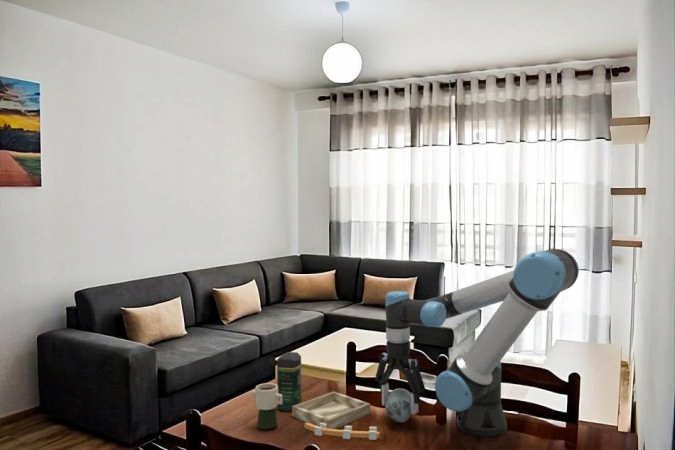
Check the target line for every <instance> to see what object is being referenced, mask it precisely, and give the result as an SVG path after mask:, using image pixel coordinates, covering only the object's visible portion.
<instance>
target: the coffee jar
mask: <svg viewBox="0 0 675 450" xmlns="http://www.w3.org/2000/svg"><path fill="white" fill-rule="evenodd" d="M276 370H277V371H276V372H277V374H276V375H277V383H276V385H278V394H282V400H283V402H282V404H278V406H277V407H276V408H277V409H278V410H281V411H284V412H290V411H291V412H292V406H294V405H297V404H300V403H303V401H302V355H301V354H299V353H298V352H295V351H287V352H286V353H283V354H281V355H280V356H279V357H278V358H277V360H276Z"/></svg>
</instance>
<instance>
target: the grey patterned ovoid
mask: <svg viewBox="0 0 675 450" xmlns="http://www.w3.org/2000/svg"><path fill="white" fill-rule="evenodd" d="M411 393H412V392H410V391H409V390H407V389H405V388H402V387H401V388H400V387H399V388H395V389H393V390H392V391H390V392H389V396H388V398H387V401H386V405H384V407H385V413H386V414H387V416H389V418H391V419H392V420H393V421H395V422H398V423H405V422H407V421H408V420H409V418H410V417H411V415H412V414H411Z"/></svg>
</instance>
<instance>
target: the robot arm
mask: <svg viewBox="0 0 675 450" xmlns="http://www.w3.org/2000/svg"><path fill="white" fill-rule="evenodd" d="M579 269H580V268H579V264H578V261H577V260H576V259H575V257H574V256H573V255H572V254H571V253H569V252H567V251H566V250H563V249H559V248H550V249H545V250H537V251H534V252H533V251H532V252H531V253H528V254H527V255H525V256H523V257H521V259H520V260H519V261H518V262H517V263H516V265H515V268H514V270H511V271H509V272H506V273H503V274H500V275H497V276H493V277H491V278H488V279H485V280H483V281H479V282H476V283H474V284H471V285H468V286H465V287H462V288H460V289H456V290H454V291H451V292H448V293H445V294H442V295H440V296H439V295H438V296H436V297H432V298H428V299H424V300H421V299H412V298H410V294H409V292H408V291H403V290H394V291H389V292H387V293H386V295H385V305H384V307H385V322H386V323H385V330H386V331H385V334H386V336H385V340H387V341H386V352H382V353H380V354H379V363H378V365H377V371H376V373H375V376H374V381H375V382H378V383H379V387H380V388H379V390H380V391H379V392H380V394H381V405H382V406H384V407H385V406H386V401H387V398H388V396H389V394H390V388H389V387H390V386H389V384H390V383H388V382H389V379H390V377H391V376H392V374H393V372H394V370H398V371H401V373H402V374H403V375H404V377H405V379H406V381H407V384H408V385H409V387H410V390H411V391H412V392H410V393H411V414H410V415H415V414H417V413H419V403H420V401H421V393H423V392H425V391H426V386H425V383H424V380H423V376H422V373H421V370H420V367H419V366H420V365H419V363H420V362H419V359H417V358H415V359H412V358H411V357H410V354H411V341H410V339H411V329H410V328H411V327H410V325H417V326H423V327H424V326H425V327H428V328H433V327H435V328H440V327H443V325H444V323H445V321H446V320H448V319H451V318H454V317H457V316H460V315H464V314H467V313H469V312H472V311H476V310H479V309H482V308H485V307H486V308H487V307H489V306H492V305H495V304H498V303H501V304H500V305H499V306H498V308H497V309H496V311H495V312H494V313H493V315H492V316H491V318H490V319H489V320H488V322H487V323H486V324H485V326H484V327H483V329H482V330H481V332H480V333H479V334H478V336H477V337H476V339H475V340H474V341H473V342H472V344H471V346H470V347H469V348H468V350H467V351H466V352H463V353H459V354H458V355H457V356H456V357H455V358H454V360H453V361H452V362H451V364H450V365H449V366H448V368H447V369H446V370H444V371H441V372H440V374H438V376H437V377H436V379H435V380H434V381H435V382H434V390H435V392H436V393H435V394H436V398H437V399H438V401H439V402H440V403H441V405H442V406H444V407H445V408H447V409H448V410H449V411H453V412H458V413H457V416H456V426H457V428H458V430H460V431H461V432H463V433H465V434H467V435H471V436H476V437H479V438H480V437H482V438H493V437H498V436H499V437H500V436H501V435H504V434H505V433H506V432H507V429H508V424H507V423H508V422H507V419H506V416H505V413H504V410H503V406H502V368H503V367H502V362H501V361H502V359H503V358H504V357H505V355H507V352H509V350H510V348H512V346H513V344H514V343H515V342H516V340H518V338H520V337H519V336H521V334H522V333H523V331H524V330H525V329H526V327H527V326H528V325H529V324H530V322H531V321H532V320H533V319H534V317H535V316H536V314H537V313H538V312H543V311H547V310H548V309H549V307H550V306H551V305H552V304H553V302H554V301H555V300H556V298H557V297H558V296H559V295H560V293H561V292H563V291H566V290H568V289H570V288H571V287H572V286H574V284H575V283H576V281H577V279H578V277H579V273H580V270H579ZM387 363H388V364H387Z"/></svg>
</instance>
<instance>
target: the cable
mask: <svg viewBox="0 0 675 450" xmlns="http://www.w3.org/2000/svg"><path fill="white" fill-rule="evenodd" d="M303 425H304V429H306V430H308V431H311V432H313V433H315V432H314V427H315V426H316V425H313V424H311V423H308V422H307V423H306V422H304V424H303ZM318 427H319V426H318ZM343 430H344V429H338V428H337V429H328V428H322V435H325V436H326V435H327V436H333V437H340V438H341V437H342V438H343ZM376 434H377V439H380V431H377V432H376ZM350 438H353V439H354V438H358V439H359V438H361V439H369V430H366V431H365V430H352V431H350Z"/></svg>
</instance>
